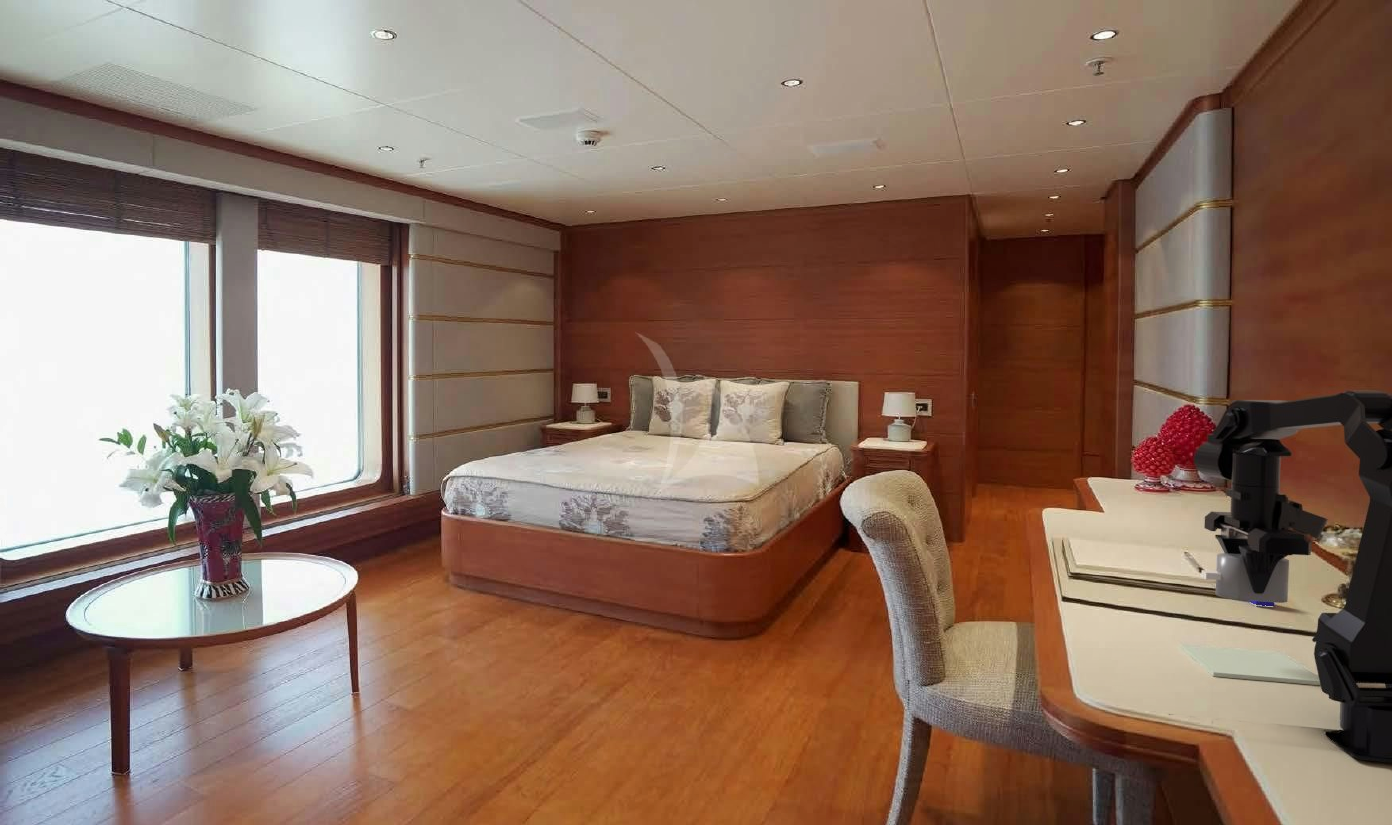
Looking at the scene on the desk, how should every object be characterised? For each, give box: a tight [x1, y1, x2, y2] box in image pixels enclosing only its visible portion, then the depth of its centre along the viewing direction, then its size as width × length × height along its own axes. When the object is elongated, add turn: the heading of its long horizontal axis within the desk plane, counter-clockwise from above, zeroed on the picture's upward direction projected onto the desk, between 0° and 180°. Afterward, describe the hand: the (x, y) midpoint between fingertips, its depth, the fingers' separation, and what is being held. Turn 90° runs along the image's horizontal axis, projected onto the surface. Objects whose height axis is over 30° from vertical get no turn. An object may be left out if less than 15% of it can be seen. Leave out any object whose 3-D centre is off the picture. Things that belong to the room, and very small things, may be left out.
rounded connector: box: [1201, 552, 1290, 604], centre depth 112 cm, size 4×11×6 cm, turn 77°
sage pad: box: [1179, 643, 1321, 686], centre depth 112 cm, size 12×14×1 cm
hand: (1251, 589), depth 112 cm, fingers closed on rounded connector, 4 cm apart
